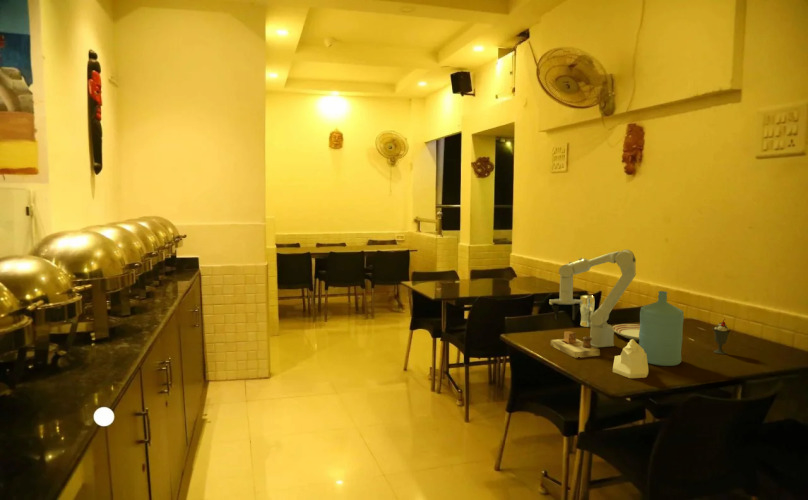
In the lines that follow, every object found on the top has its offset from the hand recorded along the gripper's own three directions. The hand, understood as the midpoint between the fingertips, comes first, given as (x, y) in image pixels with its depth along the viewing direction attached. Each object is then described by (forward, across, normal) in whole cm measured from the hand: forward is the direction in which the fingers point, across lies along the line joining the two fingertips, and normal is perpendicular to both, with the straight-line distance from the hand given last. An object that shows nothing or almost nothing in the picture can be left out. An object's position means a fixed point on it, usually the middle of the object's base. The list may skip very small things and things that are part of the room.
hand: (565, 319), depth 236 cm
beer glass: (+10, +18, +26) cm, 33 cm away
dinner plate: (+10, +38, +6) cm, 40 cm away
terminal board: (+9, 0, -16) cm, 18 cm away
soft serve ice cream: (+10, +14, -43) cm, 46 cm away
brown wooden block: (+9, -1, -12) cm, 16 cm away
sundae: (+10, +60, -18) cm, 63 cm away
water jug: (+10, +30, -28) cm, 42 cm away
